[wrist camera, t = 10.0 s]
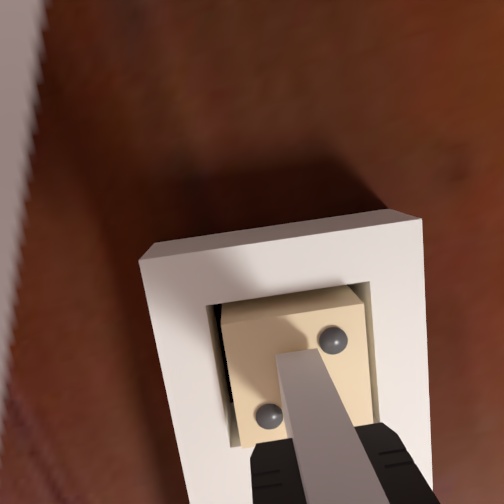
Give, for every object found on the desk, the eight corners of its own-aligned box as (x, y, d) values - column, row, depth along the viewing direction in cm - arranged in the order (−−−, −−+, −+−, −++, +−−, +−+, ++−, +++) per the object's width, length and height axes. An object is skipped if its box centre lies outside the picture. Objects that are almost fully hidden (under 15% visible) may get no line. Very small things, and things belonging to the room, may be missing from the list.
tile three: (222, 291, 17) (220, 326, 14) (337, 274, 17) (364, 304, 14) (239, 393, 18) (241, 450, 15) (346, 377, 18) (374, 429, 15)
